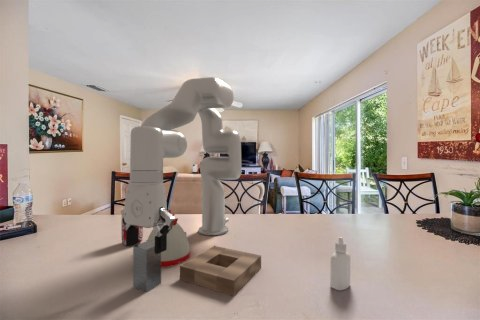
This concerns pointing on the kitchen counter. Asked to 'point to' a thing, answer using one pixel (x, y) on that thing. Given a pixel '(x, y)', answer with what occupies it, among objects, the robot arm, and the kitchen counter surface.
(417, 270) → the kitchen counter surface
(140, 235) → the soda can
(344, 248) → the eye dropper bottle
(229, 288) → the socket block
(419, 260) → the kitchen counter surface
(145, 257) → the square peg
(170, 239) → the kitchen timer
